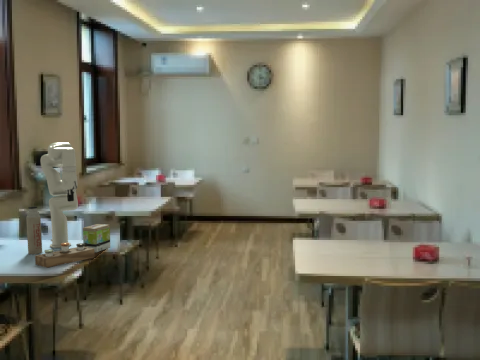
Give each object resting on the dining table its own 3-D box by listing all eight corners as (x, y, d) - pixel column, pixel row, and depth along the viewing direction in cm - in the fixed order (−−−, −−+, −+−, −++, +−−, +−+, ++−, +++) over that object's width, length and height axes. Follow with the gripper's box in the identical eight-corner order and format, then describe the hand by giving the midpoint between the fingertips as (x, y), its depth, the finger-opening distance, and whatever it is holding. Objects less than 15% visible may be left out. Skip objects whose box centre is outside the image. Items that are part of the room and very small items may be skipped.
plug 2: (75, 256, 325) (74, 244, 324) (82, 255, 328) (81, 242, 327) (79, 257, 322) (79, 245, 321) (86, 256, 325) (86, 243, 324)
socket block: (35, 264, 310) (35, 255, 310) (82, 254, 333) (82, 246, 332) (47, 267, 302) (46, 258, 302) (94, 257, 325) (94, 248, 324)
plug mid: (59, 256, 317) (59, 243, 316) (66, 254, 320) (66, 242, 320) (64, 257, 314) (63, 244, 313) (71, 256, 317) (70, 243, 317)
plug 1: (43, 263, 310) (42, 250, 309) (51, 262, 313) (50, 249, 312) (48, 264, 307) (47, 251, 306) (55, 263, 310) (54, 250, 309)
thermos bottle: (44, 252, 338) (41, 206, 336) (30, 255, 333) (28, 208, 331) (39, 250, 345) (37, 205, 342) (26, 252, 339) (23, 206, 337)
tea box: (97, 252, 336) (96, 228, 335) (83, 251, 340) (81, 227, 338) (111, 247, 350) (110, 224, 349) (97, 246, 354) (96, 223, 352)
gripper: (56, 169, 327) (57, 200, 329) (70, 170, 317) (72, 202, 319) (67, 168, 333) (69, 199, 335) (82, 169, 323) (83, 201, 325)
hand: (70, 201), depth 327 cm, fingers closed
